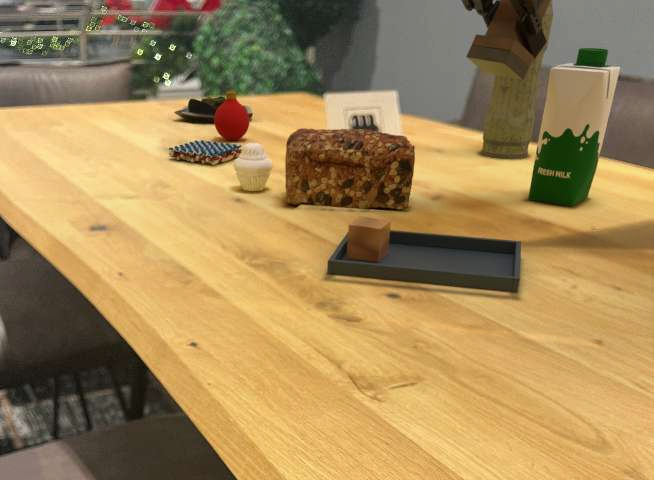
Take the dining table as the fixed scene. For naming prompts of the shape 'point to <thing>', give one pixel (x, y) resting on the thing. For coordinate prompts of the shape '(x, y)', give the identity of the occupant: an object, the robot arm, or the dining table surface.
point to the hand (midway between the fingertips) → (523, 48)
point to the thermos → (514, 108)
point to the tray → (438, 261)
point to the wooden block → (368, 239)
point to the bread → (349, 168)
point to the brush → (503, 44)
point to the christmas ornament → (231, 118)
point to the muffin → (253, 167)
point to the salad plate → (204, 110)
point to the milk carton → (573, 128)
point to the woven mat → (206, 152)
